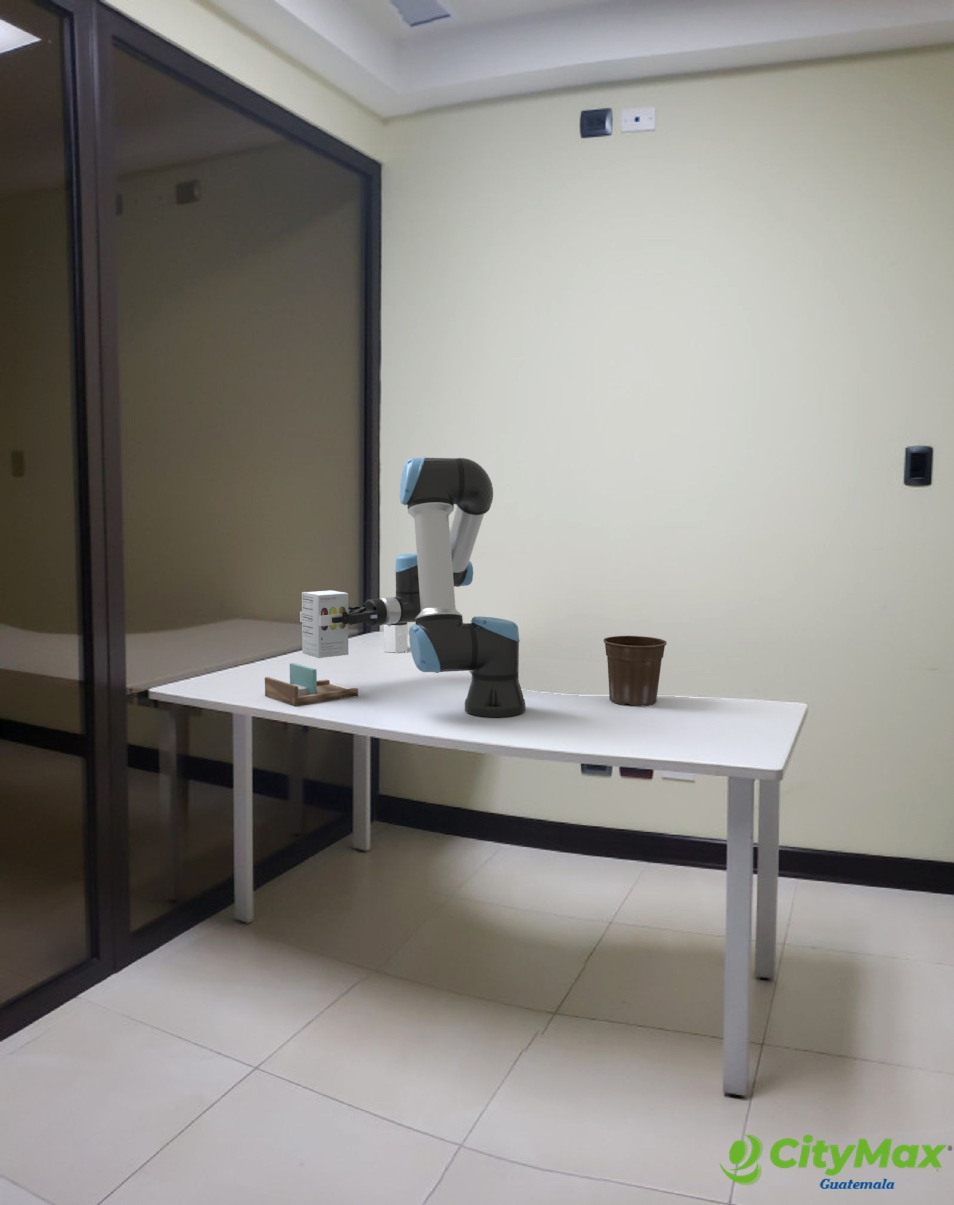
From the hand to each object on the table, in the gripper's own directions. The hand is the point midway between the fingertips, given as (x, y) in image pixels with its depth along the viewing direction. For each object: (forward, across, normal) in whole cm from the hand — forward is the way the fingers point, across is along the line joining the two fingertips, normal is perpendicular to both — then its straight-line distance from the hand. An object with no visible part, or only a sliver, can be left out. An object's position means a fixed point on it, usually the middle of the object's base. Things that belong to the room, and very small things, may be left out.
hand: (310, 618), depth 249 cm
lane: (0, 0, -21) cm, 21 cm away
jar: (-58, +44, -21) cm, 76 cm away
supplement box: (-4, 0, -10) cm, 11 cm away
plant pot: (-61, -59, -21) cm, 88 cm away
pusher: (+4, 0, -19) cm, 20 cm away
